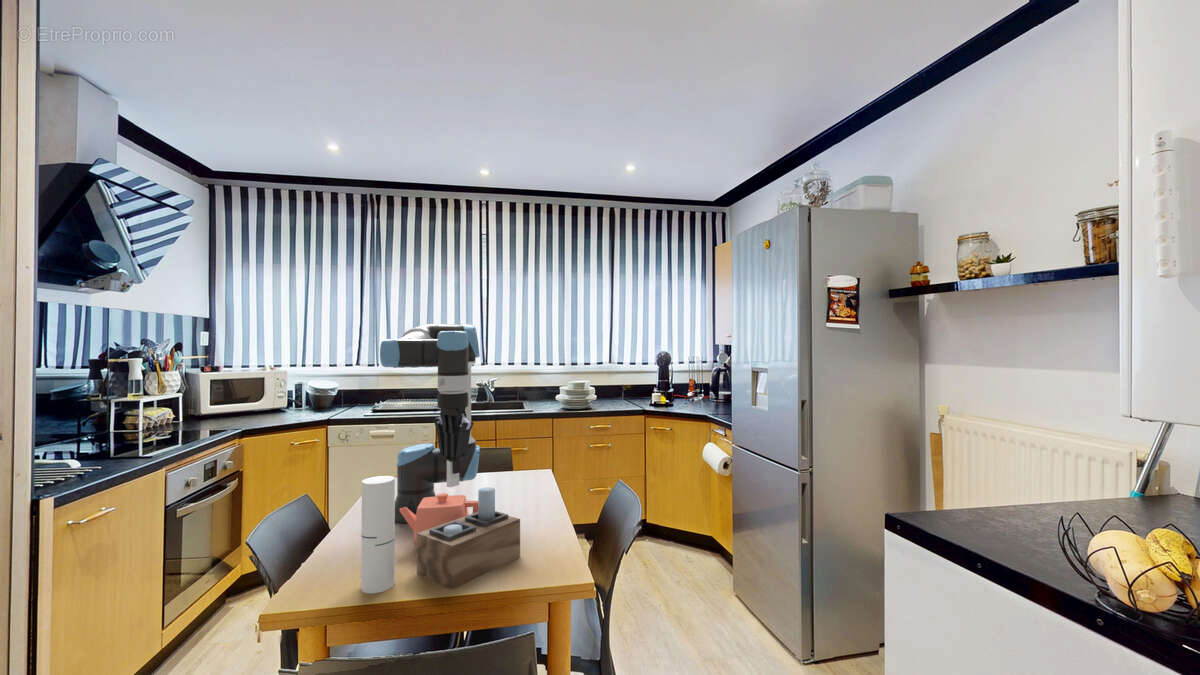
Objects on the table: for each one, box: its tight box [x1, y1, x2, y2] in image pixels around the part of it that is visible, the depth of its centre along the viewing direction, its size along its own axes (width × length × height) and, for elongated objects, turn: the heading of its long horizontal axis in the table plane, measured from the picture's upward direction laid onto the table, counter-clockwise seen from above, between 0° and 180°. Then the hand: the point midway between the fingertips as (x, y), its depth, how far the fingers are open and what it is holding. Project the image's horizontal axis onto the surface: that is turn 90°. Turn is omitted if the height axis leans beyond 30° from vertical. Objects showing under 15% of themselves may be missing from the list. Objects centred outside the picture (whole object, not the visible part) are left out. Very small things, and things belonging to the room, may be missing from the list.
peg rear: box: [477, 487, 496, 521], centre depth 131 cm, size 4×4×9 cm
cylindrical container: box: [360, 475, 396, 594], centre depth 115 cm, size 7×7×25 cm
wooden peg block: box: [416, 510, 521, 590], centre depth 126 cm, size 14×22×11 cm, turn 144°
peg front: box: [444, 524, 462, 535], centre depth 122 cm, size 4×4×9 cm
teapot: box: [400, 492, 478, 548], centre depth 140 cm, size 22×13×14 cm, turn 101°
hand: (453, 485), depth 122 cm, fingers closed
